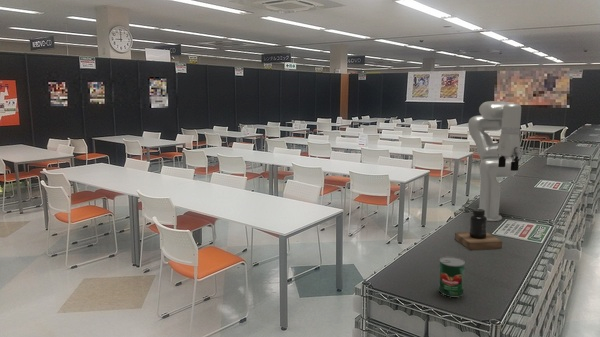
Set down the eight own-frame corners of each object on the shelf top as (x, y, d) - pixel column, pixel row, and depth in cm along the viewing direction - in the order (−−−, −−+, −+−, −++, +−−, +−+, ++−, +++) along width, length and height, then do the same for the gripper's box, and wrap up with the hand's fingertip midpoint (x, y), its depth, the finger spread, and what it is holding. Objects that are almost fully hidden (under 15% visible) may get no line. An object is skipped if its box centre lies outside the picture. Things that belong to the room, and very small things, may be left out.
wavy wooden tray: (454, 238, 188) (455, 232, 188) (484, 237, 190) (484, 231, 189) (470, 250, 175) (470, 243, 174) (501, 248, 176) (502, 241, 175)
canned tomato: (457, 286, 142) (459, 255, 140) (467, 297, 134) (469, 265, 132) (434, 287, 142) (435, 256, 140) (443, 298, 134) (444, 266, 132)
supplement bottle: (483, 234, 185) (484, 207, 183) (488, 239, 178) (490, 212, 176) (467, 233, 186) (468, 207, 184) (471, 239, 179) (473, 212, 177)
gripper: (492, 130, 197) (489, 165, 200) (514, 133, 180) (511, 172, 183) (507, 129, 197) (504, 165, 200) (530, 132, 180) (527, 171, 183)
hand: (507, 168), depth 191 cm, fingers open, 9 cm apart
